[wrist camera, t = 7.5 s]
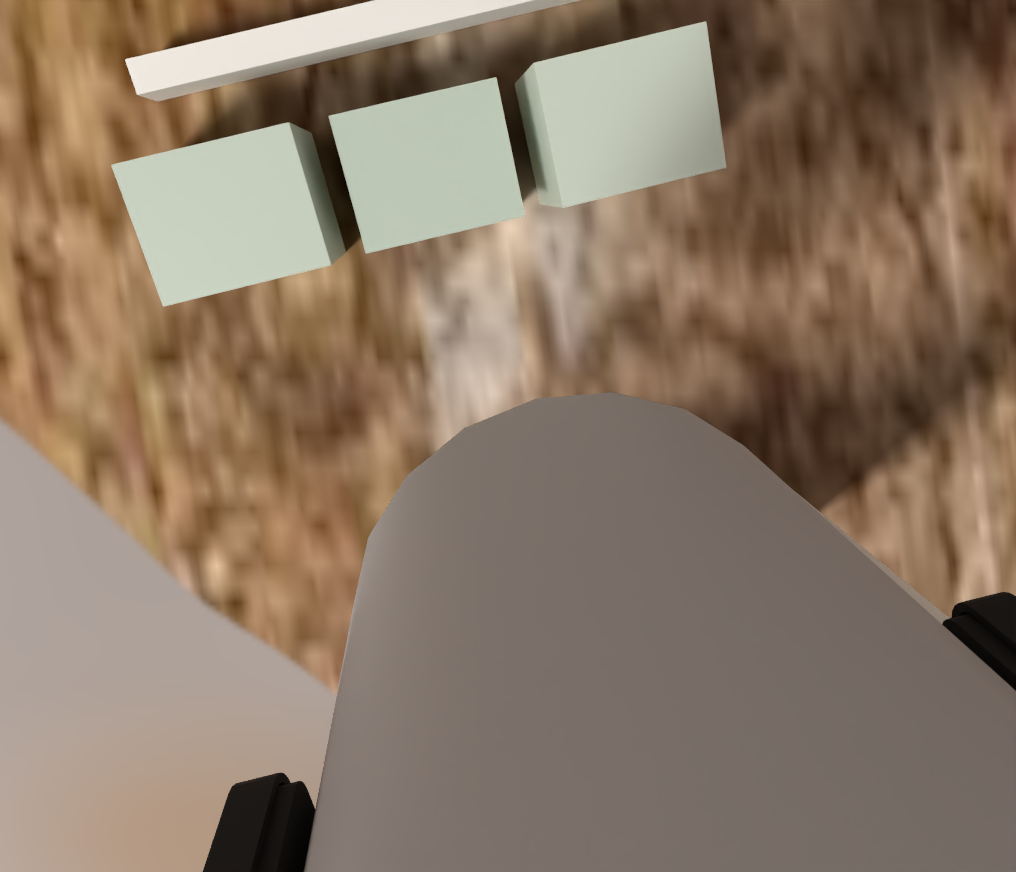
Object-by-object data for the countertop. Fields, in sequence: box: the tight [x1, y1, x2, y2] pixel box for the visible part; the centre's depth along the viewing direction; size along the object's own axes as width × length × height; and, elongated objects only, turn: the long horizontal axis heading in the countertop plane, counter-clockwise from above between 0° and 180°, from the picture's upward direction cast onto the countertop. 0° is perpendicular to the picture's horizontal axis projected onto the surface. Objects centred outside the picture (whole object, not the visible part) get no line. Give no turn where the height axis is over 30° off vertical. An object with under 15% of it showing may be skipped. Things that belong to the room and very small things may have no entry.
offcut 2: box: [515, 21, 727, 208], centre depth 26 cm, size 4×5×5 cm
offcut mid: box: [328, 77, 525, 253], centre depth 26 cm, size 4×5×4 cm
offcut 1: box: [111, 122, 346, 306], centre depth 25 cm, size 4×5×5 cm
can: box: [304, 392, 1016, 872], centre depth 9 cm, size 8×8×12 cm
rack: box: [125, 0, 950, 624], centre depth 23 cm, size 22×19×14 cm
